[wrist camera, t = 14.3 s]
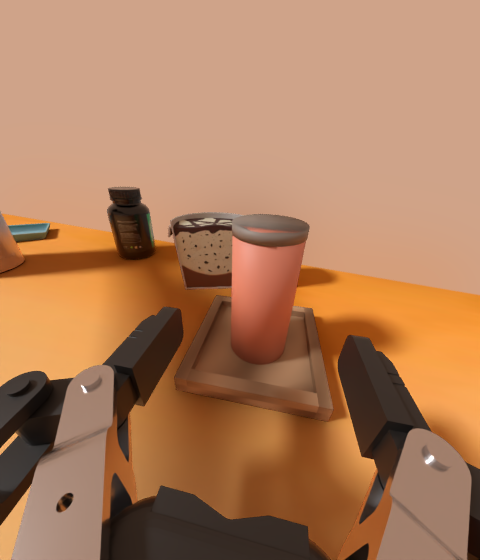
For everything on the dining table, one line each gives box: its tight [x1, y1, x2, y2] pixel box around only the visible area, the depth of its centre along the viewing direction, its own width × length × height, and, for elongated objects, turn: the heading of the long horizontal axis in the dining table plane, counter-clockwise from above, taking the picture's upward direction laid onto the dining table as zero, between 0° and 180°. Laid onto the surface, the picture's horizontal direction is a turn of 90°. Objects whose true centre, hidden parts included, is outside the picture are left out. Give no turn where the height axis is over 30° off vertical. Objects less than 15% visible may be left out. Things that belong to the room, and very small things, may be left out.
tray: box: [174, 295, 334, 422], centre depth 21 cm, size 12×12×2 cm
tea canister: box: [231, 214, 309, 365], centre depth 18 cm, size 6×6×12 cm
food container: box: [168, 212, 244, 290], centre depth 31 cm, size 12×6×10 cm, turn 97°
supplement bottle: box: [107, 187, 156, 260], centre depth 38 cm, size 7×7×12 cm
